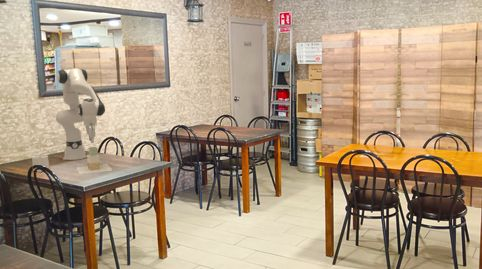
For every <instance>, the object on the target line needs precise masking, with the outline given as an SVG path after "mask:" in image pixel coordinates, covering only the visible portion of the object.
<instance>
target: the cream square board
mask: <svg viewBox="0 0 482 269" xmlns="http://www.w3.org/2000/svg"><path fill="white" fill-rule="evenodd" d="M99 166H100V169H97V170H89V169H88V165H85V166H76V168H75V169H76V171H77V173H78V174H79V175H86V174H93V173H95V174H96V173H103V172H110V171H113V169H112V168H111V166H110V165H109V164H108V163H103V164H99Z"/></svg>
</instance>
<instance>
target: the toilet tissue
mask: <svg viewBox="0 0 482 269" xmlns="http://www.w3.org/2000/svg"><path fill="white" fill-rule="evenodd" d="M31 162H32V167H33V166H34V165H42V166H45V167H47V168H49V169H50V161H49V155H46V154H39V155H35V156H32V158H31ZM32 170H33V169H32ZM33 171H34V170H33ZM33 171H32V172H33ZM36 173H42V171H41V170H37V172H36Z"/></svg>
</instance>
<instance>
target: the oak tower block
mask: <svg viewBox="0 0 482 269" xmlns="http://www.w3.org/2000/svg"><path fill="white" fill-rule="evenodd" d="M99 165H100V162H97V163H88V162H87V166H88V169H89V170H97V169H100V166H99Z"/></svg>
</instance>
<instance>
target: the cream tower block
mask: <svg viewBox="0 0 482 269" xmlns="http://www.w3.org/2000/svg"><path fill="white" fill-rule="evenodd" d="M86 155H87V157H86V160H87V164H88V163H97V162H99V163H100V162H101V160H100V154H98V155H93V156H90V155H89V154H86Z"/></svg>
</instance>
